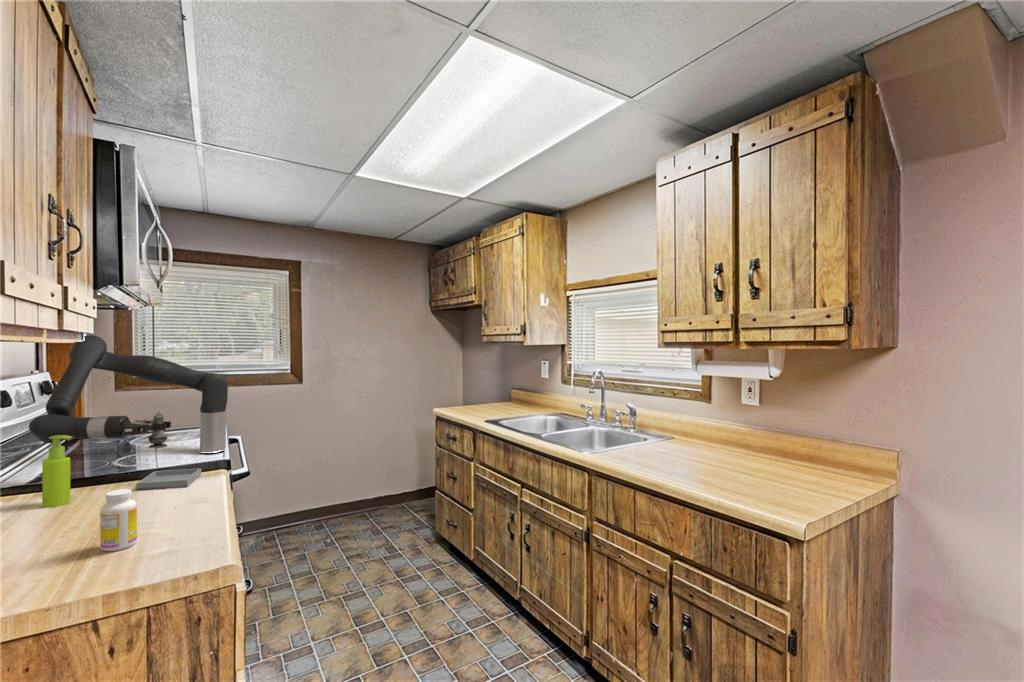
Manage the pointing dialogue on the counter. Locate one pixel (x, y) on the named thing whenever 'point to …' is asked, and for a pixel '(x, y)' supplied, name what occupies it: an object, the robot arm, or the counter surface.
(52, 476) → the soap dispenser
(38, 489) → the counter surface
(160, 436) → the dark gray chess piece
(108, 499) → the supplement bottle
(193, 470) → the tray
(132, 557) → the counter surface
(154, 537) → the counter surface
